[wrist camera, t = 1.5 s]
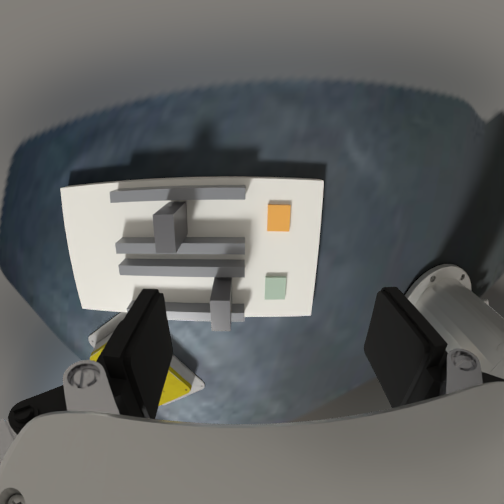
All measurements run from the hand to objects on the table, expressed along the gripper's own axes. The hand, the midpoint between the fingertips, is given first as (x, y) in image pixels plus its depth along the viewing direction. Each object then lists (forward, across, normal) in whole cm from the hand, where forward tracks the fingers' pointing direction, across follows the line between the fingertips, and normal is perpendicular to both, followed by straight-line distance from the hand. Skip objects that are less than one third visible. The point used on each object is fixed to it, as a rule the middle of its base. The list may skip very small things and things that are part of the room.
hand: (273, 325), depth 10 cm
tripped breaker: (+16, +7, 0) cm, 18 cm away
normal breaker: (+16, +3, +7) cm, 18 cm away
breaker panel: (+18, +7, +3) cm, 20 cm away
